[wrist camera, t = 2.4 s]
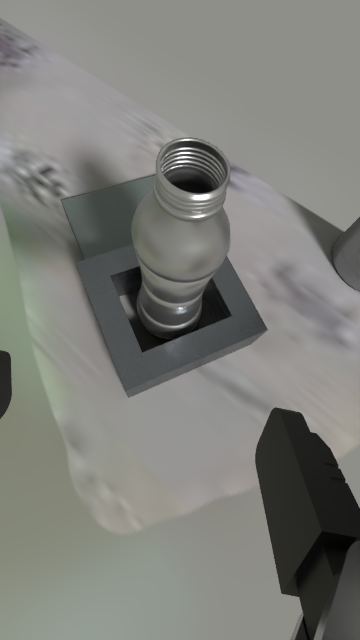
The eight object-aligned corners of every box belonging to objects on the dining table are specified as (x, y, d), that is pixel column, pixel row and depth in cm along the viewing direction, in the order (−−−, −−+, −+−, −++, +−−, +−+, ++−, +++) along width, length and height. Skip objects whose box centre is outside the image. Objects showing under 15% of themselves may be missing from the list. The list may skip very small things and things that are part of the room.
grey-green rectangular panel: (170, 177, 40) (170, 171, 39) (199, 231, 38) (201, 226, 37) (63, 206, 37) (61, 200, 36) (88, 268, 34) (86, 263, 33)
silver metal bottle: (162, 356, 32) (184, 248, 13) (125, 307, 33) (97, 146, 14) (209, 322, 34) (288, 185, 15) (172, 277, 35) (202, 99, 16)
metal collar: (199, 247, 37) (207, 220, 32) (250, 344, 33) (267, 329, 29) (85, 285, 34) (75, 262, 29) (128, 397, 30) (125, 391, 25)
